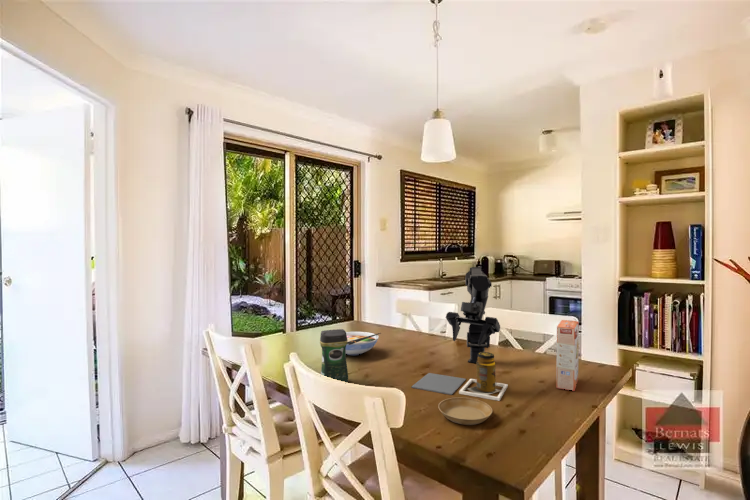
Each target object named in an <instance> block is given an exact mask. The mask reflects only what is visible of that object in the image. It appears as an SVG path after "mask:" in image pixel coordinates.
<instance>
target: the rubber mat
mask: <svg viewBox="0 0 750 500" xmlns="http://www.w3.org/2000/svg"><path fill="white" fill-rule="evenodd" d="M466 380H467V379H466V378H464V377H456V376H452V375H451V376H450V375H445V374H438V373H433V372H428V373H427V374H425V375H424V376H423V377H421V378H420V379H419V380H418V381H417V382H414V384H413V385H412V386H411V388H412V389H418V390H423V391H429V392H433V393H439V394H445V395H449V396H452V395H454V393H455V392H456V391H457V390H458V389H459V388H460V387H461V386H462V385H463V383H465V381H466Z"/></svg>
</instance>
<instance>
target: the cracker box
mask: <svg viewBox="0 0 750 500" xmlns="http://www.w3.org/2000/svg"><path fill="white" fill-rule="evenodd" d="M579 324H580V323H579V321H577V320H570V319H569V320H567V319H561V321H560V322H559V323H558V325H556V365H555V366H556V373H555V374H556V375H555V377H556V378H555V380H556V381H555V386H556V389H560V390H564V389H565V391H569V390H572V391H571V392H575V391H576V387H577V385H576V384H578V381H579V356H580V355H579V352H580V351H579V347H580V346H579V344H580V343H579V339H580V338H579V336H580V334H579V332H580V331H579V330H580V326H579Z"/></svg>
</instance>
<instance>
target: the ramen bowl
mask: <svg viewBox="0 0 750 500" xmlns="http://www.w3.org/2000/svg"><path fill="white" fill-rule="evenodd" d="M381 334H382V333H381V332H378V333H372V332H368V331H367V332H366V331H346V335H347V345H346V354H347V355H346V356H359V354H360V355H362V354H363V353H364V354H365V353H366V352H369V351H370V350H371V349H373V348H374V347H375V346H376V343H378V340H379V335H381Z"/></svg>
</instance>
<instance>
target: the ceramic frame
mask: <svg viewBox="0 0 750 500" xmlns="http://www.w3.org/2000/svg"><path fill="white" fill-rule="evenodd" d="M472 383H475V384H477V378H469V380H468V381H467V382H465V384H464V385H463V386H462V387H461V388H460V389H459V391H458V394H459V395H465V396H470V397H476V398H482V399H487V400H492V401H499V402H500V401H501V399H502V397H503V395H504V394H505V393H506V391H507V389H508V383H502V382H496V387H501V389H500V390H501V391H499V394H498V395H497V396H494V395H490V394H489V395H483V394H478V393H474V392H472V391H466V390H467V388H469V386H470V385H471V384H472Z"/></svg>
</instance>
